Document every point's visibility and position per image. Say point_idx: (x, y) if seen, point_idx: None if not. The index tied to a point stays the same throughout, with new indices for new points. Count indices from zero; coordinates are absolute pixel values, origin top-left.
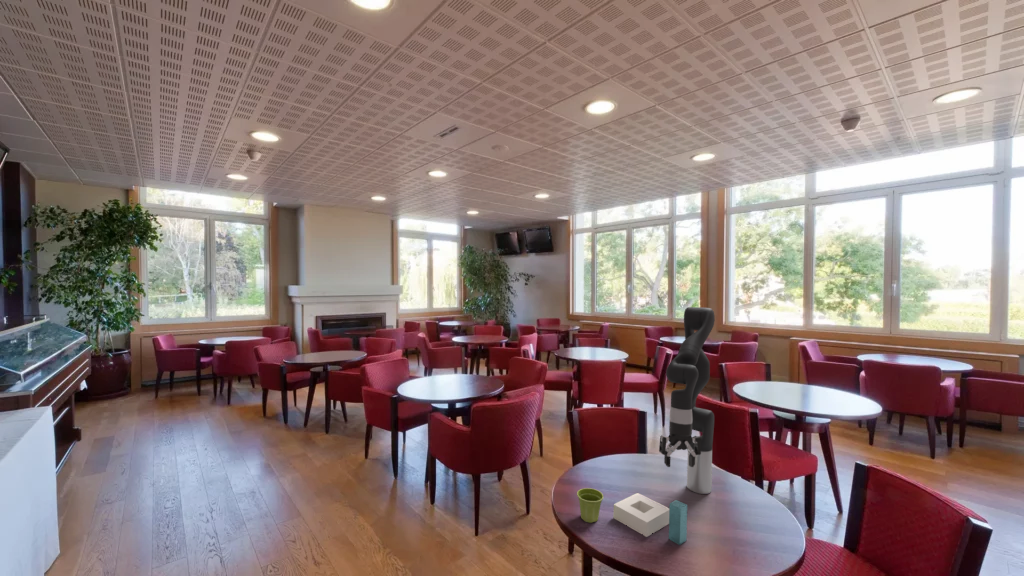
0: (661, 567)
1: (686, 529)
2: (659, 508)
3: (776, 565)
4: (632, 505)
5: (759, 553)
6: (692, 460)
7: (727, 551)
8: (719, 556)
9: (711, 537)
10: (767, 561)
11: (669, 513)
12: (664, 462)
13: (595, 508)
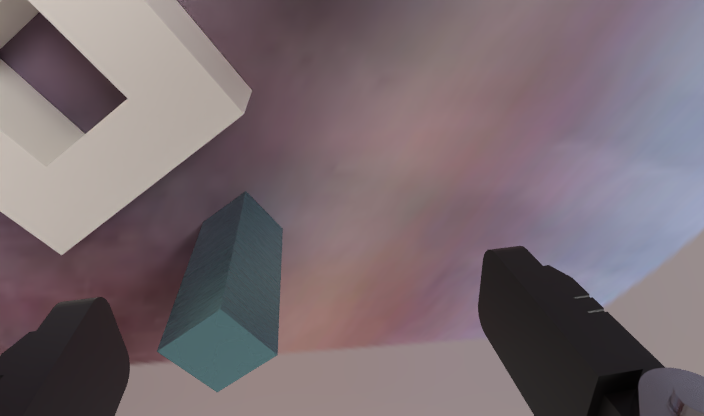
0: (135, 364)
1: (279, 259)
2: (164, 110)
3: None
4: None
5: None
6: (541, 406)
7: (417, 279)
8: (370, 304)
9: (406, 203)
10: None
11: (174, 305)
12: (6, 359)
13: None
